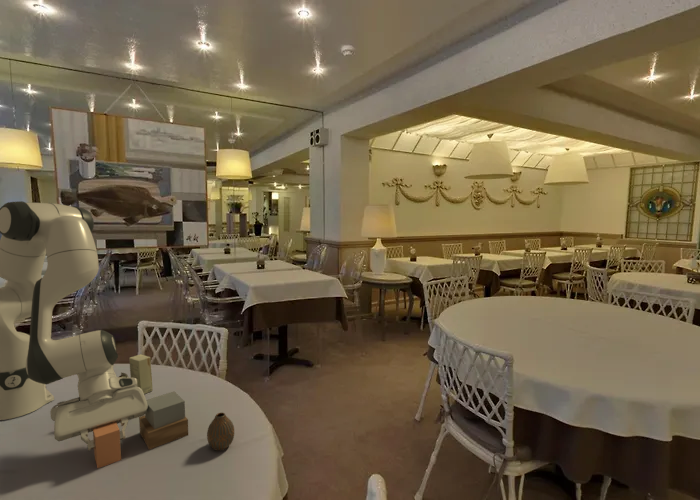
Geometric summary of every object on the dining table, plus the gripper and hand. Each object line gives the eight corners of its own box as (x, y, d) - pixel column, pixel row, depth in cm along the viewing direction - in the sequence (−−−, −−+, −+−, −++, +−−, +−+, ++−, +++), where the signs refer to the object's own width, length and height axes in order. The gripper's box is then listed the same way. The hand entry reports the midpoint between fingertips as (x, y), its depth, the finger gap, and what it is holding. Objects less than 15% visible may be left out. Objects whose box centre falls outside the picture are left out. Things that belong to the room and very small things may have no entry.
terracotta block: (94, 458, 96) (92, 428, 95) (117, 450, 99) (115, 421, 98) (97, 468, 92) (95, 437, 91) (121, 459, 95) (119, 429, 95)
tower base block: (140, 434, 107) (139, 417, 107) (177, 421, 114) (176, 405, 113) (149, 450, 100) (148, 432, 99) (188, 436, 106) (187, 419, 106)
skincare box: (153, 391, 132) (151, 357, 131) (140, 396, 128) (138, 361, 127) (143, 386, 135) (141, 353, 134) (130, 391, 132) (128, 357, 131)
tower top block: (145, 417, 107) (144, 400, 106) (174, 407, 112) (174, 391, 112) (154, 429, 101) (153, 411, 100) (185, 418, 106) (184, 401, 106)
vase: (219, 457, 97) (218, 424, 96) (201, 448, 100) (200, 416, 99) (240, 443, 102) (239, 412, 102) (223, 435, 106) (222, 405, 105)
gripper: (49, 399, 93) (54, 457, 86) (142, 376, 106) (153, 424, 99) (49, 409, 96) (55, 465, 90) (139, 386, 110) (149, 433, 103)
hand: (107, 443), depth 95 cm, fingers closed on terracotta block, 5 cm apart
